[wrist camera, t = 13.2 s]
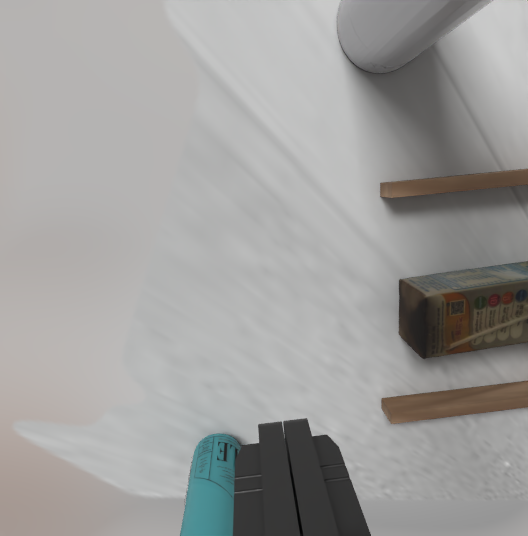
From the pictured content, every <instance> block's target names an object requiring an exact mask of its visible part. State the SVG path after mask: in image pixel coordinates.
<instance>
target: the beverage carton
mask: <svg viewBox="0 0 528 536" xmlns="http://www.w3.org/2000/svg"><path fill="white" fill-rule="evenodd" d="M399 295H400V299H399V335H400V336H401V337H402V338H403V339H404V340H405V341H406V342H407V344H408V345H409V346H410V347H412V349H413V350H414V351H415V352H416V353H417V354H418V355H419V356H420V357H421V358H423V359H425V358H429V357H439V356H444V355H450V354H456V353H463V352H470V351H476V350H482V349H487V348H493V347H500V346H506V345H514V344H520V343H526V342H528V261H527V262H520V263H512V264H504V265H498V266H490V267H483V268H476V269H468V270H460V271H453V272H446V273H439V274H432V275H426V276H419V277H412V278H407V279H400V280H399Z"/></svg>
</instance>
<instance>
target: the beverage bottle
mask: <svg viewBox="0 0 528 536" xmlns="http://www.w3.org/2000/svg"><path fill="white" fill-rule="evenodd" d="M240 449H241V446H240V445H239V443H238V442H237V441H236V440H235V439H234V438H233V437H231V436H229V435H226V434H212V435H209V436H207V437H205V438H204V439H202V440H201V441H200V442H199V444H198V445H197V447H196V449H195V451H194V456H193V462H191V463H192V468H191V469H190V470H191V473H190V477H189V478H190V480H189V478H188V480H189V485H188V484H187V485H188V491H186V492H187V495H186V496H187V498H186V505H185V511H184V517H183V522H182V528H181V533H180V536H233V513H234V480H235V459H236V457H237V455H238V453H239V451H240Z"/></svg>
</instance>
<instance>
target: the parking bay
mask: <svg viewBox="0 0 528 536" xmlns="http://www.w3.org/2000/svg"><path fill="white" fill-rule="evenodd" d="M518 185H528V169H520V170H510V171H500V172H489V173H479V174H468V175H458V176H448V177H437V178H427V179H417V180H406V181H396V182H385V183H380V197H388V198H395V197H406V196H416V195H426V194H436V193H446V192H457V191H467V190H477V189H487V188H498V187H508V186H518ZM525 407H528V381H522V382H514V383H506V384H497V385H489V386H481V387H472V388H464V389H456V390H447V391H439V392H431V393H422V394H414V395H406V396H397V397H389V398H382V410H383V411H384V413H385V414H386V416H387V418H388V419H389V421H390V423H391V424H395V423H403V422H411V421H419V420H427V419H436V418H444V417H452V416H460V415H468V414H476V413H484V412H493V411H501V410H509V409H517V408H525Z"/></svg>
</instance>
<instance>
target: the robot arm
mask: <svg viewBox="0 0 528 536" xmlns="http://www.w3.org/2000/svg"><path fill="white" fill-rule="evenodd" d="M492 1H493V0H341V3H340V6H339V10H338V16H337V31H338V36H339V41H340V43H341V46H342V48H343V50H344V52H345V53H346V55H347V56H348V58H349V59H350V60H351V61H352V62H353V63H354V64H355V65H356V66H358V67H360V68H361V69H363V70H365V71H369V72H372V73H387V72H392V71H394V70H396V69H399V68H401V67H402V66H404V65H405V64H406V63H408V62H410V61H412V60H413V58H415V57H416V56H417V55H419V54H420V53H422V52H423V51H425V50H426V49H427V48H429V47H430V46H432V45H433V44H434V43H436V42H437V41H438V40H440V39H441V38H442V37H444V36H445V35H447V34H448V33H449V32H451V31H452V30H453V29H455V28H456V27H457V26H459V25H460V24H462V23H463V22H464V21H466V20H467V19H468V18H470V17H471V16H472V15H474V14H475V13H477V12H478V11H479V10H481V9H482V8H483V7H485V6H486V5H487V4H489V3H490V2H492ZM283 423H284V433H283V427H282V422H273V423H265V424H258V428H259V443H257V444H249V445H242V447H241V449H240V451H239V453H238V455H237V457H236V459H235V480H234V513H233V536H371V534H370V532H369V529H368V526H367V523H366V521H365V518H364V515H363V513H362V510H361V507H360V504H359V501H358V499H357V496H356V493H355V490H354V488H353V485H352V482H351V480H350V477H349V474H348V471H347V468H346V466H345V463H344V460H343V457H342V455H341V452H340V449H339V447H338V446H337V445H336V444H335V443H334V442H333V441H332V439H331V438H330V437H329V436H328V435H321V436H313V437H312V435H311V431H310V427H309V424H308V420H307V418H305V419H297V420H289V421H283ZM284 435H285V439H284Z"/></svg>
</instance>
